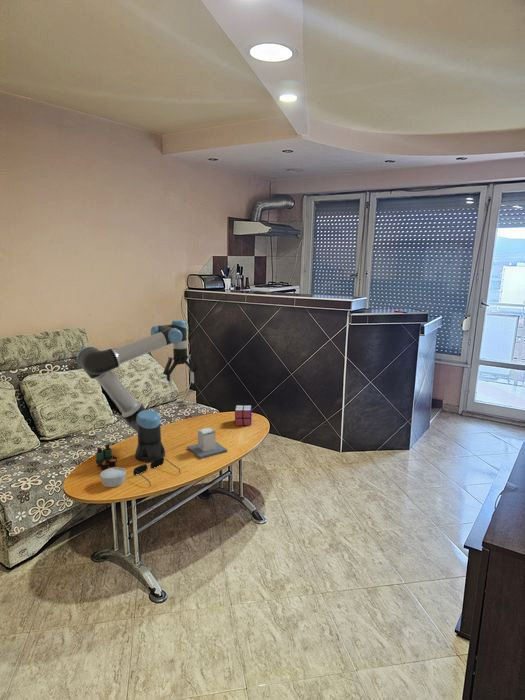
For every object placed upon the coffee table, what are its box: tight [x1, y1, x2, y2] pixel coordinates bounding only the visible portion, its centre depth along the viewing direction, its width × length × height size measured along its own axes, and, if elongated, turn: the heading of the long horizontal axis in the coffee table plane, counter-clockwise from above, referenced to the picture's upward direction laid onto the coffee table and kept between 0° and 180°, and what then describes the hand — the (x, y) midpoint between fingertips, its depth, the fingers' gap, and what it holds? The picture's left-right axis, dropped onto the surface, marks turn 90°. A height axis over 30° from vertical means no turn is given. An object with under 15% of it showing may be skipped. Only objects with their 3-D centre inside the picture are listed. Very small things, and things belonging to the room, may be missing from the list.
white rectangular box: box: [197, 426, 216, 452], centre depth 235 cm, size 7×7×10 cm
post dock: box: [186, 440, 228, 460], centre depth 235 cm, size 16×16×8 cm
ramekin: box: [99, 466, 127, 488], centre depth 200 cm, size 11×11×5 cm
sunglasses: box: [132, 457, 181, 487], centre depth 208 cm, size 17×15×5 cm
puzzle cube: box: [234, 405, 253, 426], centre depth 275 cm, size 10×10×10 cm
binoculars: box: [95, 443, 118, 471], centre depth 215 cm, size 9×11×10 cm
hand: (181, 384), depth 248 cm, fingers open, 13 cm apart
